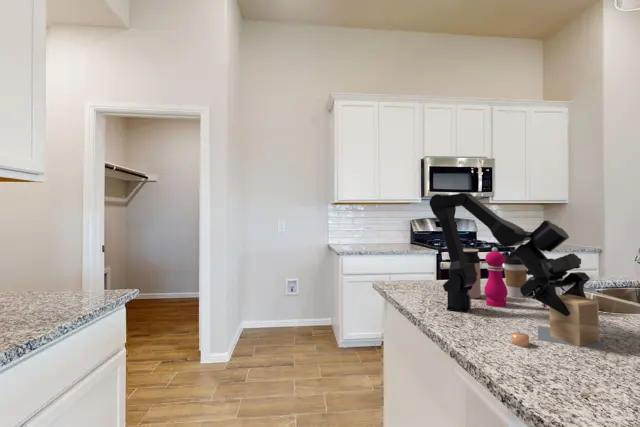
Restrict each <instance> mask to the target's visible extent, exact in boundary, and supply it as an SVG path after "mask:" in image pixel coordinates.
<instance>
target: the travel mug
mask: <svg viewBox="0 0 640 427" xmlns="http://www.w3.org/2000/svg"><path fill="white" fill-rule="evenodd" d="M463 251H464V254H465V258H466V260H467V261H468V262H469V263H474V265H475V270H476V272H477V274H478V275H476V276H477V281H476V282H475V284H474V285H473V286H472V289H471V290H469V295H470V296H471V300H472V299H478V298H481V296H482V293H481V292H482V288H481V286H482V285H481V257H480V256H479V252H480V250H479V249H478V248H463Z"/></svg>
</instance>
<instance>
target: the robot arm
mask: <svg viewBox="0 0 640 427" xmlns="http://www.w3.org/2000/svg"><path fill="white" fill-rule="evenodd" d="M429 207H430V208H431V211H432V214H433V215H434V217H435V218H437V220H438V221H439V225H440V228H441V232H442V234H443V238H444V243H445V246H446V249H447V253H448V257H449V262H450V263H449V269H448V275H449V276H448V277H449V279H447V280H446V281H445V283H443V284H442V287H443V291H444V292H447V293H446V294H447V295H446V296H447V307H446V310H447V311H452V312H453V311H454V312H460V313H462V312H463V313H468V312H469V311H470V310H471V308H472V299H471V296H470V295H469V290H471V289H472V286H473V285H474V284H475V282H476V281H477V276H476V275H478V274H477V272H476V270H475V265H474V263H469V262H468V261H467V260H466V258H465V254H464V251H463V249H464V248H463V245H462V241H461V240H462V239H461V237H460V234H459V230H458V227H457V223H456V220H455V217H456V216H455V215H456V210H457V209H456V208H457V207H462V208H464V209H465V210H466V211H467V212H469V214H471V215H473V216H474V217H475V218H476V219H478V220H479V222H481V223H482V224H484V225H485V226H486V228H487V229H489V231H490V232H491V235H492V236H493V238H495V240H496V241H497V242H498V243H499V244H500V245H501V246H502V247H509V248H510V247H516V246H517V248H515V249H510V250H509V254H508V255H509V259H515V260H517V259H520V261H521V262H522V263H523V264H524V266H525V267H526V268H527V272H526V273H527V276H530V277H529V278H527V279H526V282H525V283H524V284H523V285H522V286H520V292H521V293H522V295H523V296H524V297H523V298H524V299H527V298H532V300H535V301H538V302H539V303H541V302H542V303H543V304H545V305H547V306H549V307H551V308H553V309H555V310H556V311H558V312H560V313H562V314H563V315H565V316H569V315H570V312H569V311H568V309H567V308H566V306H565V305H564V303H563V302H562V301H561V299H560V298H559V297H558V295H557V294H556V289H555V287H560V288H561V289H562V292H563V293H562V295H566V294H570V295H575V296H580V297H584V298H587V296H586V294H585V290H584V286H585V285H586V284H587V282H589V281H590V280H591V277H589V275H588V274H587V273H586V272H584V271H583V272H582V271H576V272H575V271H574V272H570V273H569V272H568V271H570V270H574V269H576V270H577V269H581V265H582V258H581V257H578V255H576V254H575V253H568V254H565V255H563V256H560V257H557V258H548V257H547V256H546V255H545V254H544V253H543V252H546V251H547V252H550V253H552V252H553V251H554V250H555V249H556V248H558V247H559V246H561V245H562V244H563V243H564V242H566V241H567V240H569V238H570V236H569V234H568V232H566V231H565V230H564V229H563V228H562V227H559V226H558V225H557V224H555V223H553V222H551V221H550V220H548V219H547V220H544V221H543V222H541V224H539V226H538V227H536V228H535V229H534V230H533V231H526V230H524V228H522V227H521V226H520V225H518V224H515V223H513V222H511V221H509V220H506V219H504V218H502V217H500V216H499V215H497V213H495V212H494V211H493V210H492V209H490V208H489V207H487V206H486V205H485V204H483V202H481V201H480V200H479V199H477V198H476V197H475V196H474V195H473V194H472V193H470V192H459V193H455V194H443V193H442V194H441V193H440V194H439V193H438V194H434V195H432V197H431V198H430V200H429ZM524 242H526V243H524ZM568 273H569V274H568ZM563 276H564V279H563Z"/></svg>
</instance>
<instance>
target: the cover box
mask: <svg viewBox="0 0 640 427" xmlns="http://www.w3.org/2000/svg"><path fill="white" fill-rule="evenodd" d="M558 297H559V298H560V299H561V301H562V302H563V303H564V305H565V306H566V308H567V309H568V311H569V312H570V315H569V316H565V315H563V314H562V313H560V312H558V311H556V310H555V309H553V308H551V307H549V327H550V336H551V337H554V338H557V339H560V340H563V341H566V342H569V343H572V344H574V345H577V346H576V347H579V346H582V345H587V344H592V343H596V342H599V336H600V315H599V313H600V312H599V300H598V299H594V298H593V299H592V298H589V297H586V298H584V297H580V296H575V295H570V294H566V295H563V294H561V295H559V296H558Z"/></svg>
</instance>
